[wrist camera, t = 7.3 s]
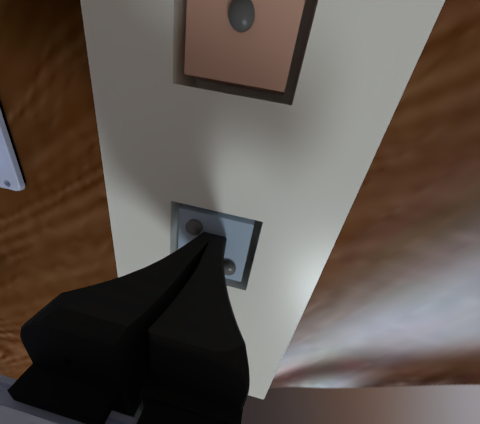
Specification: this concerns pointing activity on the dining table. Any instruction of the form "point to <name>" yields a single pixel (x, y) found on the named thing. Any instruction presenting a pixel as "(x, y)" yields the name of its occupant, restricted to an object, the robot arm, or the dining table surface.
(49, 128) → the dining table surface
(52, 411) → the robot arm
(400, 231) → the dining table surface
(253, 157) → the button panel
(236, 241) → the button three
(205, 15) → the button one
